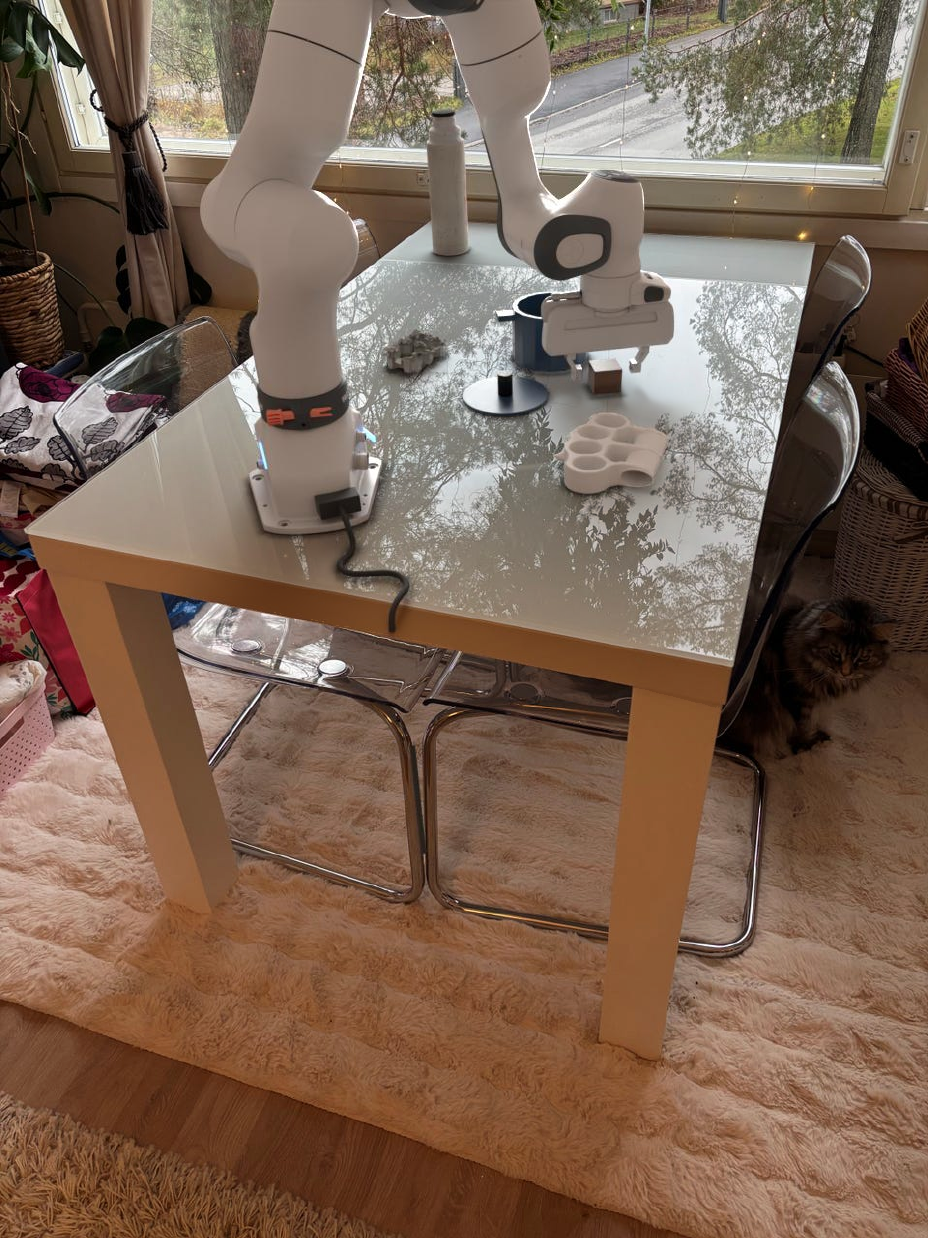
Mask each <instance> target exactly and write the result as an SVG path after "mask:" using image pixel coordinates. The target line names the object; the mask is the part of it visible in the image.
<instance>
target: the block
mask: <svg viewBox="0 0 928 1238" xmlns="http://www.w3.org/2000/svg"><path fill="white" fill-rule="evenodd" d="M587 366H588V367H587V385H588V387H589V389H590V391H591V393H592V394H593V396H597V395H606V394H615V393H616V394H618V393H622V385H623V384H622V383H623V382H622V381H623V368H622V366H621V365H620V362H619V361H618V360H617V358H602V359H591V360H588V363H587Z"/></svg>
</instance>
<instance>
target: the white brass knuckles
mask: <svg viewBox="0 0 928 1238" xmlns="http://www.w3.org/2000/svg"><path fill="white" fill-rule="evenodd" d="M563 438H565V440H566V441H565V442H564V444H563V450H562V451H560V452H558V453H556V454H553V455H552V457H553V458H555V459H557V460H559V461H560V462H562V463H563V470H564V471H563V483H564V486H565V487H566V488H567V489H568V490H570V491H572V492H574V493H577V494H582V495H594V494H599V493H602V492H603V491H606V490H607V489H608V488H610V487H616V486H622V487H628V488H645V487H648V486H651V485H652V484H654V483H655V478H656V475H657V472H658V471H659V467H660V466H661V464H662V460H663V457H664V455H665V452H666V449H667V448H668V447H669V441H670V438H669V436H668V435H667V434H666V433H664V432H663V431H660V430H659V429H653V428H650V427H643V426H636V425H634V424H632V423H631V421H630V420H629V418H628V417H627V416H625V415H624V414H620V413H617V412H608V411H607V412H598V413H594V414H592V415H590V416H589V419H588V421H587V422H586V423H583V424H580V425H577V426H576V427H575V428H574V429H573V430H571V431H570V433H569V435H565V436H563Z"/></svg>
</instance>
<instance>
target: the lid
mask: <svg viewBox="0 0 928 1238" xmlns="http://www.w3.org/2000/svg"><path fill="white" fill-rule="evenodd" d="M513 374H514V373H513V371H511V370H509V369H503V370H499V371H498V372H497V374H496V376H492V377H487V378H483V379H480V380H477V381H475V382H473V383H471V384H470V385H468V386H467V387H465V389H464V390H463V392H462V402H463V404H464V405H465V407H467V408H468V409H470V410H471V411H474V412H476V413H478V414H482V415H486V416H493V417H513V416H514V417H515V416H521V415H526V414H529V413H531V412H534V411H536V410H538V409H541V408H542V407H543V406H545V404H546V403H547V402H548V400H549V390H548V389H547V387H546V386H545V385H544V384H543V383H541V382H539V381H538V380H535V379H532V378H529V377H524V376H517V375H513Z"/></svg>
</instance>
